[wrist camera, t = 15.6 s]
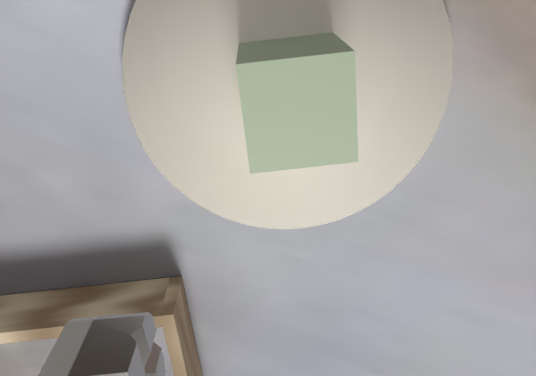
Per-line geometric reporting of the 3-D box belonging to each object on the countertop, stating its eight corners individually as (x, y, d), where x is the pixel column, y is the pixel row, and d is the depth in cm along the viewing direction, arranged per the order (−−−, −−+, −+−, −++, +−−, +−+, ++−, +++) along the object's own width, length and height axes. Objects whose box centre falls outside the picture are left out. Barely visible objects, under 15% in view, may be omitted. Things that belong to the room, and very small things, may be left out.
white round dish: (454, -123, 25) (462, -126, 24) (441, 205, 32) (446, 212, 31) (90, -81, 25) (84, -82, 24) (160, 235, 32) (157, 243, 31)
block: (333, 32, 26) (355, 51, 21) (337, 123, 29) (358, 161, 23) (238, 43, 27) (235, 64, 21) (249, 133, 29) (249, 173, 23)
